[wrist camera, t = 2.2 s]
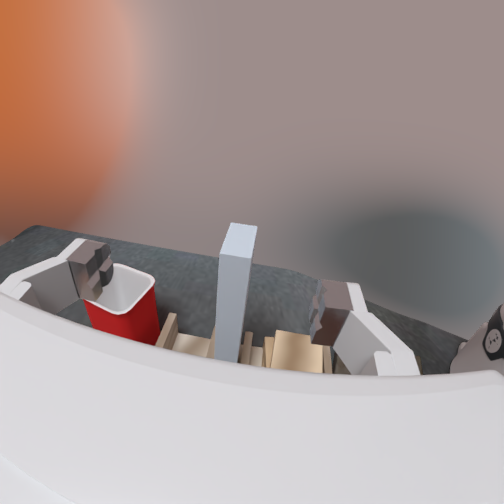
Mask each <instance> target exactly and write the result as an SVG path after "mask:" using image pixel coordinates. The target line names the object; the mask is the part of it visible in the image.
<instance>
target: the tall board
mask: <svg viewBox="0 0 504 504" xmlns="http://www.w3.org/2000/svg"><path fill="white" fill-rule="evenodd" d="M256 232H257V226H251V225H244V224H237V223H231V224H230V227H229V230H228V233H227V235H226V238H225V240H224V243H223V246H222V249H221V251H220V256H219V272H218V289H217V307H216V328H215V353H214V359H217V360H223V361H228V362H234V363H238V358H239V351H240V344H241V337H242V330H243V323H244V316H245V309H246V302H247V296H248V289H249V282H250V275H251V268H252V260H253V253H254V247H255V240H256Z"/></svg>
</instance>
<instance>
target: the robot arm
mask: <svg viewBox="0 0 504 504" xmlns="http://www.w3.org/2000/svg"><path fill="white" fill-rule="evenodd" d="M110 255H111V250H110V246H109V245H108V244H106V243H101V242H97V241H92V240H87V239H82V238H77V239H75V240H74V241H73V242H72V243H71V244H70V245H69V246H68V247H67V248H66V249H65V250H64V251H63V252H62V253H61V254H59V255H58V256H57V257H56V258H55V257H53V258H50V259H48V260H45V261H43V262H40V263H38V264H35V265H33V266H30V267H28V268H25V269H23V270H21V271H18V272H16V273H14V274H11V275H10V276H9V277H8V278H7V279H6V280H5V281H4V282H3V283H2V284H1V285H0V504H504V304H502V305H500V306H499V308H498V309H497V310H496V311H495V312H494V314H493V315H492V318H491V319H490V320H489V322H488V323H484V324H483V325H482V326H481V327H480V328H479V329H478V330H477V332H476V333H475V334H474V335H473V336H472V337H471V339H470V340H469V341H468V342H467V343H466V342H463V343H461V344H460V346H459V348H458V354H457V355H456V356H455V358H454V359H453V360H452V363H451V366H450V374H435V375H420V372H419V369H418V366H417V362H416V359H415V356H414V353H413V351H412V350H411V349H410V348H409V347H407V346H406V345H405V344H404V343H403V342H402V341H401V340H400V339H399V338H398V337H397V336H396V335H395V334H394V333H393V332H391V331H390V330H389V329H388V328H387V327H386V326H385V325H384V324H383V323H382V322H381V321H380V320H379V319H377V318H376V317H375V316H374V315H373V314H372V313H368V311H367V308H366V305H365V301H364V298H363V295H362V292H361V289H360V286H359V284H357V283H349V282H338V281H330V280H322V279H319V281H318V283H317V286H316V295H315V296H314V297H313V298H312V301H311V304H310V310H309V322H310V323H311V324H312V326H311V329H310V339H311V344H316V345H324V346H332V347H333V349H334V350H335V352H336V353H337V354H338V356H339V357H340V359H341V360H342V361H343V363H344V364H345V366H346V367H347V369H348V370H349V371H350V373H351V374H352V375H345V374H328V373H315V372H303V371H293V370H284V369H275V368H267V367H260V366H253V365H247V364H240V363H234V362H228V361H223V360H217V359H212V358H207V357H202V356H197V355H192V354H187V353H183V352H178V351H174V350H169V349H165V348H161V347H157V346H153V345H149V344H145V343H141V342H137V341H134V340H130V339H127V338H123V337H120V336H116V335H113V334H109V333H106V332H103V331H100V330H97V329H93V328H90V327H87V326H84V325H81V324H79V323H76V322H73V321H70V320H67V319H64V318H62V317H59V316H56V315H55V314H56V313H58V312H59V311H61V310H62V309H64V308H66V307H67V306H69V305H70V304H72V303H73V302H75V301H77V300H78V299H79V298H81V299H85V300H89V301H93V302H96V301H97V299H98V298H99V297H100V295H101V294H102V293H103V288H102V287H104V286H107V285H108V284H109V283H110V281H111V280H112V277H113V272H114V267H113V262H112V261H111V260H110V258H109V256H110Z"/></svg>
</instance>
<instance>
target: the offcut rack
mask: <svg viewBox="0 0 504 504" xmlns="http://www.w3.org/2000/svg"><path fill="white" fill-rule="evenodd" d="M215 328H216V326H214V330H213V333H212V337H211V339H206V338H201V337H196V336H191V335H186V334H181V333H178V325H177V314H174V313H169V315H168V317H167V320H166V322H165V324H164V326H163V329H162V331H161V333H160V336H159V338H158V340H157V343H156V345H155V346H157V347H161V348H165V349H169V350H174V351H178V352H183V353H187V354H192V355H197V356H202V357H207V358H212V359H214V353H215ZM252 336H253V332H247V331H246V332H245V338H244V345H241V344H240V351H239V358H238V363H240V364H247V365H253V366H260V367H261V366H262V355H263V348H261V347H254V346H251V343H252ZM322 373H328V374H332V364H331V354H330V346H324V345H323V361H322Z"/></svg>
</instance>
